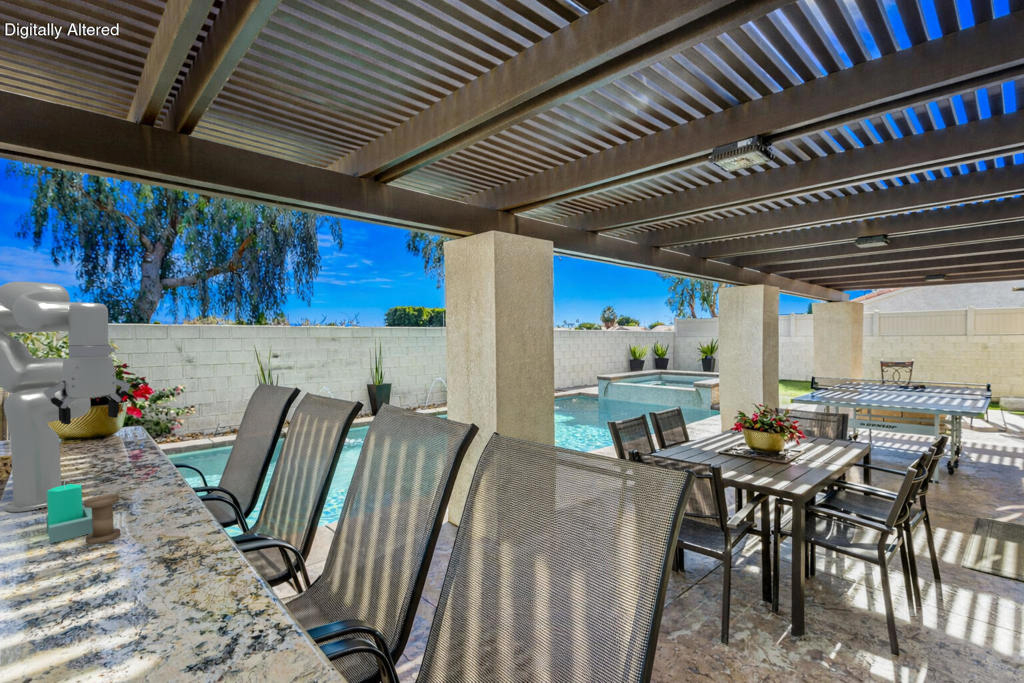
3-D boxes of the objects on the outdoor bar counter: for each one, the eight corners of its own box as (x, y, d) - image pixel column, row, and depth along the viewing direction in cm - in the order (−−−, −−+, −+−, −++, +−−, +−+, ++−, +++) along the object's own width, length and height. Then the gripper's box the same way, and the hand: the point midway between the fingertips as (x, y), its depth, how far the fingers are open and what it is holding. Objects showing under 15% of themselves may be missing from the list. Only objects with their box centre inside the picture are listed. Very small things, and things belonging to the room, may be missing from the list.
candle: (62, 538, 110) (60, 485, 110) (41, 536, 111) (39, 484, 111) (90, 527, 116) (88, 477, 116) (70, 526, 117) (67, 476, 117)
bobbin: (79, 541, 108) (78, 501, 108) (111, 531, 114) (109, 492, 113) (95, 545, 106) (93, 504, 106) (126, 535, 111) (124, 495, 111)
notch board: (46, 529, 116) (46, 514, 115) (96, 518, 122) (95, 504, 122) (50, 543, 107) (49, 528, 107) (103, 531, 114) (102, 516, 114)
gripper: (121, 350, 131) (122, 413, 132) (36, 353, 116) (38, 424, 116) (136, 351, 128) (137, 416, 128) (51, 354, 112) (52, 428, 113)
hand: (90, 420), depth 122 cm, fingers open, 9 cm apart
